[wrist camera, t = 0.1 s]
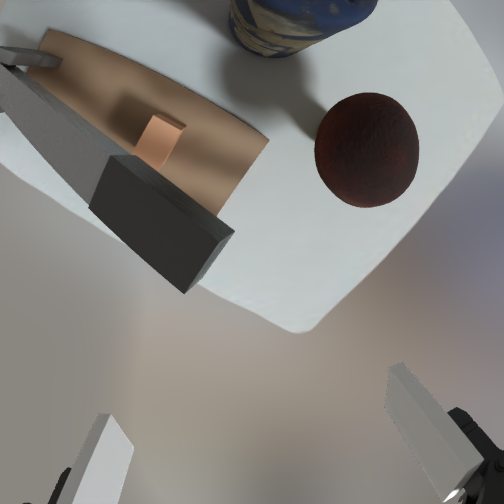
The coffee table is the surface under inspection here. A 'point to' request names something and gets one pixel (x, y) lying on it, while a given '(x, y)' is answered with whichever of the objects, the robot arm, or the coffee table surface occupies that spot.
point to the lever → (117, 184)
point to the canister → (292, 23)
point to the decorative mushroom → (367, 150)
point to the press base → (146, 115)
